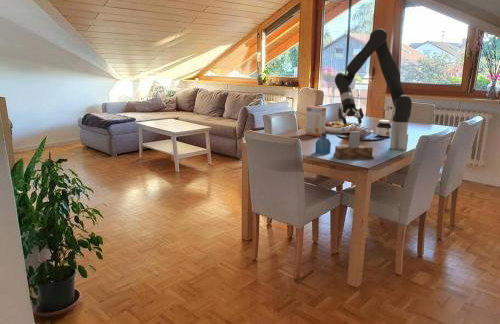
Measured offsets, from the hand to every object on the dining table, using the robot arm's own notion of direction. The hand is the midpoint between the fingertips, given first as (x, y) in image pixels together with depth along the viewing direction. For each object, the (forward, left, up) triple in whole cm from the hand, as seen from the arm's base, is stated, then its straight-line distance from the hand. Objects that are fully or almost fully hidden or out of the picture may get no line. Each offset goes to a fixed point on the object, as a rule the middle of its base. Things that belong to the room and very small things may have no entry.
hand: (352, 124), depth 223 cm
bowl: (-17, -74, -19) cm, 78 cm away
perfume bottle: (+15, -6, -19) cm, 25 cm away
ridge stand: (0, +5, -18) cm, 19 cm away
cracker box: (+7, -58, -19) cm, 61 cm away
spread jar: (-42, -53, -19) cm, 70 cm away
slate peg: (0, +5, -12) cm, 13 cm away
